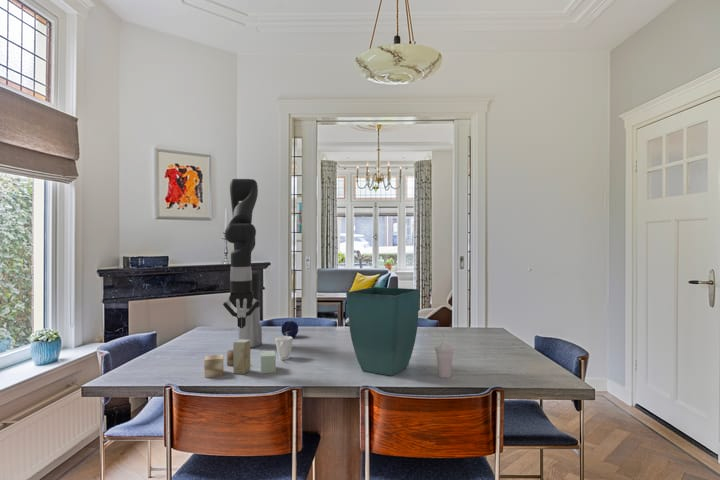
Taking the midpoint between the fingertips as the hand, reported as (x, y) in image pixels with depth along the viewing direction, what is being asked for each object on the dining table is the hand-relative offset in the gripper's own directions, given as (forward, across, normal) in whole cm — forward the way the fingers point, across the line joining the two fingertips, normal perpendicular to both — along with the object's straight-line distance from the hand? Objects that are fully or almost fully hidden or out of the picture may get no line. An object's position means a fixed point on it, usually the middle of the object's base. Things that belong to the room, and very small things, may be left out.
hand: (241, 327), depth 154 cm
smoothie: (+16, +66, -27) cm, 73 cm away
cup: (+16, +16, +12) cm, 26 cm away
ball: (+16, +23, +52) cm, 59 cm away
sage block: (+16, +9, -1) cm, 18 cm away
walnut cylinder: (+16, -3, +11) cm, 19 cm away
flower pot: (+16, +49, -13) cm, 53 cm away
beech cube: (+16, -9, 0) cm, 18 cm away
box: (+16, 0, 0) cm, 16 cm away
